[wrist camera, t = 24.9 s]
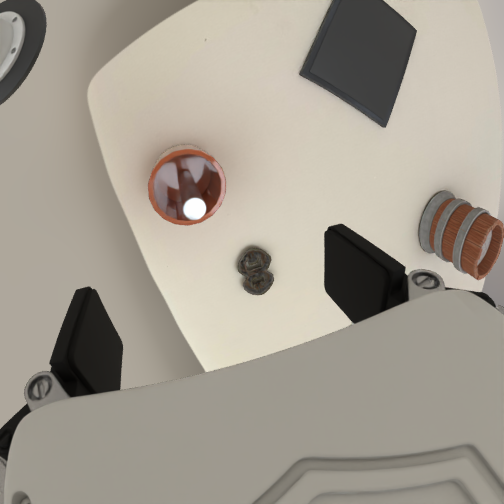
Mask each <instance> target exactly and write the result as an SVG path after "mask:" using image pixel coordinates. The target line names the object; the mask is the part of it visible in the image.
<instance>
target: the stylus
mask: <svg viewBox="0 0 504 504" xmlns="http://www.w3.org/2000/svg"><path fill="white" fill-rule="evenodd" d="M178 184H179V190H180V197H181V203H182V208H183V213H184V215H185V216H186V217H187V218H188V219H190V220H198V219H201V218H202V217H203V216H204V215H205V213H206V209H207V207H206V204H205V202H204V199H203V197H202V195H201V193H200V191H199V189H198V187H197V185H196V182H195V180H194V178H193V176H192V174H191V173H190V172H188V171H184V172H181V173H180V174H179V176H178Z"/></svg>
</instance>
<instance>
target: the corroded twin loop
mask: <svg viewBox="0 0 504 504" xmlns="http://www.w3.org/2000/svg"><path fill="white" fill-rule="evenodd" d="M258 257H260V261H261V266H260V267H257V268H254V269H252V270H250V271H248V270H247V267H246V262H247V261H248V264H249V265H254V264H256V263H258ZM270 262H271V256H270V255H269V254H267V253H266V252H265V251H263V250H261V249H257V248H252V249H249V250H247V252H245V253H244V255H243V256H242V258H241V259H240V261H239V263H238V272H239V273H241V274H242V275H244V276H247V278H246V281H245V282H244V284H243V287H244V290H245V291H247V292H248V293H250V294H252V295H262V294H264V293H266V292H267V291H268V290H269V289H270V287H271V286H272V284H273V281H274V277H273V274H272V273H270V272H268V271H267V269H268V268H269V265H270ZM261 277H264V280H265V283H264V281H262V282H261V281H258V282H256V283H255V285H254V287H253V284H252V281H253V280H256V279H259V278H261Z"/></svg>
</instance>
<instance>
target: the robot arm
mask: <svg viewBox="0 0 504 504" xmlns="http://www.w3.org/2000/svg"><path fill="white" fill-rule="evenodd" d="M24 38H25V22H24V20H23V18H22V17H21V16H20V15H19V14H17V13H15V12H11V11H9V12H3V13H0V81H1V80H2V79H3V78H4V77H5V76H6V75H7V73H8V72H9V71H10V69H11V68H12V66H13V65H14V63H15V61H16V59H17V58H18V55H19V53H20V51H21V48H22V45H23V43H24ZM324 247H325V272H324V287H325V290H326V293H327V294H328V295H329V296H330V297H331V298H332V300H333V301H334V302H335V303H336V304H337V305H338V306H339V307H340V309H341V310H342V311H343V312H344V313H345V314H346V315H347V316H348V318H349V319H350V320H351V321H352V322H353V323H354V324H353V325H351V326H348V327H346V328H343V329H341V330H338V331H335V332H333V333H330V334H327V335H325V336H322V337H319V338H317V339H314V340H311V341H308V342H306V343H303V344H300V345H297V346H294V347H291V348H288V349H285V350H282V351H279V352H276V353H273V354H270V355H267V356H263V357H260V358H257V359H254V360H250V361H247V362H243V363H240V364H236V365H233V366H229V367H225V368H222V369H218V370H214V371H210V372H206V373H202V374H198V375H194V376H189V377H185V378H180V379H176V380H171V381H166V382H162V383H157V384H152V385H146V386H141V387H135V388H130V389H124V390H120V384H121V368H122V355H123V344H122V341H121V339H120V337H119V335H118V333H117V331H116V329H115V328H114V326H113V324H112V322H111V320H110V318H109V316H108V314H107V312H106V310H105V308H104V306H103V304H102V302H101V299H100V297H99V295H98V293H97V291H96V290H95V289H92V288H91V287H85V288H81V289H77V290H76V291H75V294H74V296H73V299H72V301H71V304H70V306H69V308H68V311H67V314H66V316H65V319H64V321H63V324H62V327H61V330H60V333H59V335H58V338H57V341H56V344H55V347H54V350H53V353H52V356H51V360H50V365H51V366H52V367H51V371H50V372H49V371H42V372H39V373H37V374H35V375H34V376H32V378H30V379H29V381H28V382H27V384H26V387H25V389H24V396H25V399H26V401H27V404H26V405H25V406H24V407H23V408H22V409H21V410H20V411H19V412H17V413H16V414H15V415H14V416H13V417H12V418H11V419H10V420H9V421H8V422H7V423H6V424H5V425H4V426H3V427H2V428H1V429H0V504H504V307H503V306H500V305H498V307H497V308H496V306H495V303H494V301H493V300H492V299H491V298H490V297H489V296H488V295H487V294H485V293H483V292H474V291H467V290H460V289H453V288H447V287H445V285H444V281H443V279H442V278H441V277H440V276H439V275H438V274H437V273H435V272H433V271H430V270H425V269H418V270H414V271H412V272H410V273H409V275H408V276H407V275H406V274H405V268H406V267H405V266H403V265H402V264H401V263H399V262H398V261H396V260H395V259H394V258H392V257H391V256H389V255H388V254H387V253H385V252H384V251H382V250H381V249H379V248H378V247H376V246H375V245H373V244H372V243H371V242H369V241H368V240H366V239H365V238H363V237H362V236H360V235H359V234H357V233H356V232H354V231H353V230H351V229H350V228H348V227H346V226H345V225H343V224H338V225H334V226H329V227H328V229H327V231H325V233H324Z"/></svg>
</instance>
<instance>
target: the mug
mask: <svg viewBox="0 0 504 504" xmlns="http://www.w3.org/2000/svg"><path fill="white" fill-rule="evenodd" d="M419 236H420V243H421V246H422V248H423V250H424V251H426V252H428V253H436V255H437V256H438V257H439V258H441V259H442V260H444V261H446V262H452V263H453V265H454V267H455V268H456V269H457V270H459V271H460V272H462V273H464V274H466V273H468V274H470V275H471V276H473V277H474V278H475V279H477V280H480V279H482V278H484V277H485V276H486V275H487V274H488V273H489V272H490V270H491V268H492V267H493V265H494V264H495V262H496V260H497V259H498V256H499V254H500V250H501V246H502V242H503V238H504V227H503V223H502V222H501V221H500V220H498V219H496V218H494V217H492V216H491V215H490V213H489V212H488V211H487V210H485V209H482V208H480V207H477V208H474V207H472V206H471V204H470V203H469V202H467V201H465V200H462V199H456V198H455V197H454V195H453V194H452V193H451V192H448V191H443V192H440V193H438V194H437V195H436V196H434V197H433V198H432V200H431V201H430V202H429V204H428V205H427V207H426V209H425V211H424V213H423V216H422V219H421V223H420V230H419Z"/></svg>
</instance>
